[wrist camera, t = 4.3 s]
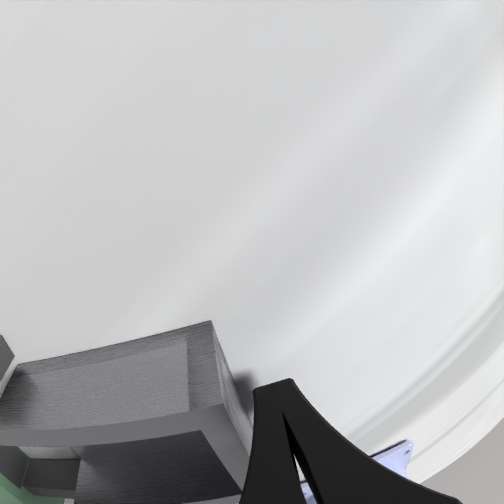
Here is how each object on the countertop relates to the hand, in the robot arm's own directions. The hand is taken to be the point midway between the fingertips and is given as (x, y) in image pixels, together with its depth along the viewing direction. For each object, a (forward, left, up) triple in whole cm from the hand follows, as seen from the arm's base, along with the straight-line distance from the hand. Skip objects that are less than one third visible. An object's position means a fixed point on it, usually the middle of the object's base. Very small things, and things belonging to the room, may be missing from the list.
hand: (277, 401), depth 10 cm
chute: (0, +5, -1) cm, 5 cm away
